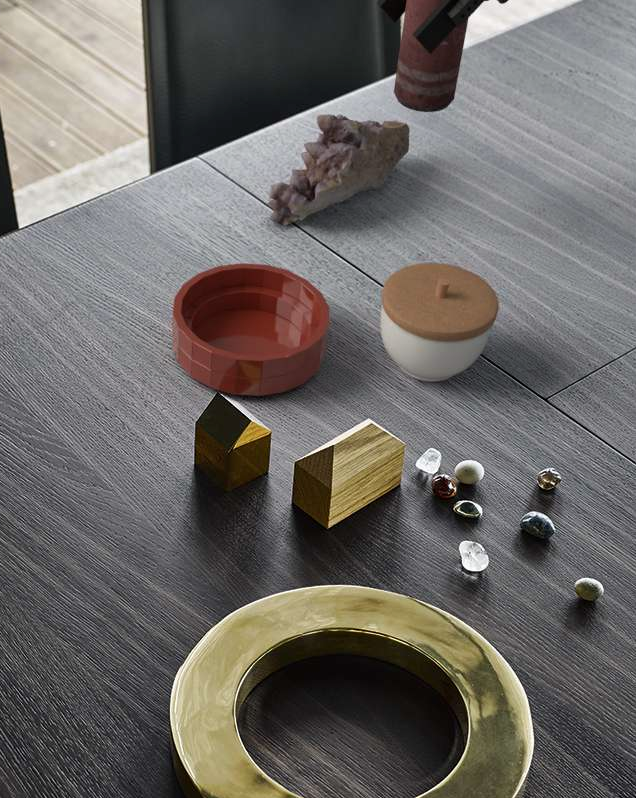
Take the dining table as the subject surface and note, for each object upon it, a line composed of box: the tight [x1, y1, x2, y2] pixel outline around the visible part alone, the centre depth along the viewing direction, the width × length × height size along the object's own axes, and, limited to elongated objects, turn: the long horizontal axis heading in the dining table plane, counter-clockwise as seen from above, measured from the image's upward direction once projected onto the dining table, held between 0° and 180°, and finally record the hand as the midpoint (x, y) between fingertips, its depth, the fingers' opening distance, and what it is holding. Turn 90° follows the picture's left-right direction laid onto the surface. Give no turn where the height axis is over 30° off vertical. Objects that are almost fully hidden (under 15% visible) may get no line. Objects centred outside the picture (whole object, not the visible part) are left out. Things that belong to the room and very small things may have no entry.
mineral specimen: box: [267, 113, 411, 226], centre depth 138 cm, size 20×10×10 cm
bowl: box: [171, 262, 331, 397], centre depth 119 cm, size 15×15×5 cm
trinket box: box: [379, 262, 500, 383], centre depth 117 cm, size 11×11×9 cm
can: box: [393, 0, 470, 113], centre depth 121 cm, size 6×6×14 cm
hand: (403, 28), depth 120 cm, fingers closed on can, 6 cm apart
